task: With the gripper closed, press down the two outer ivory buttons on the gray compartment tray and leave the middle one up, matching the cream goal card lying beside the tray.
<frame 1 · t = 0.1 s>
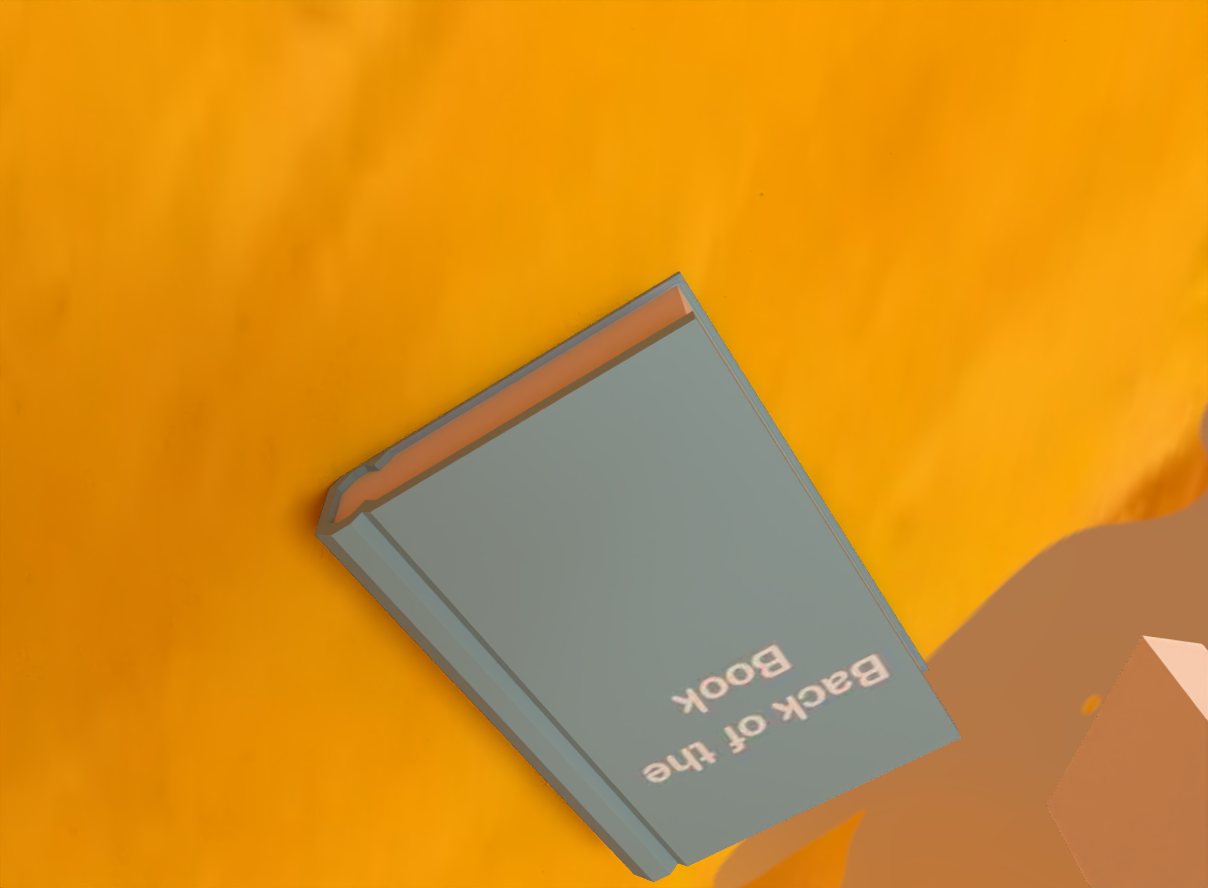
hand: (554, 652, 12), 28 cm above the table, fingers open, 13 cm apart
book: (648, 571, 47), on the table
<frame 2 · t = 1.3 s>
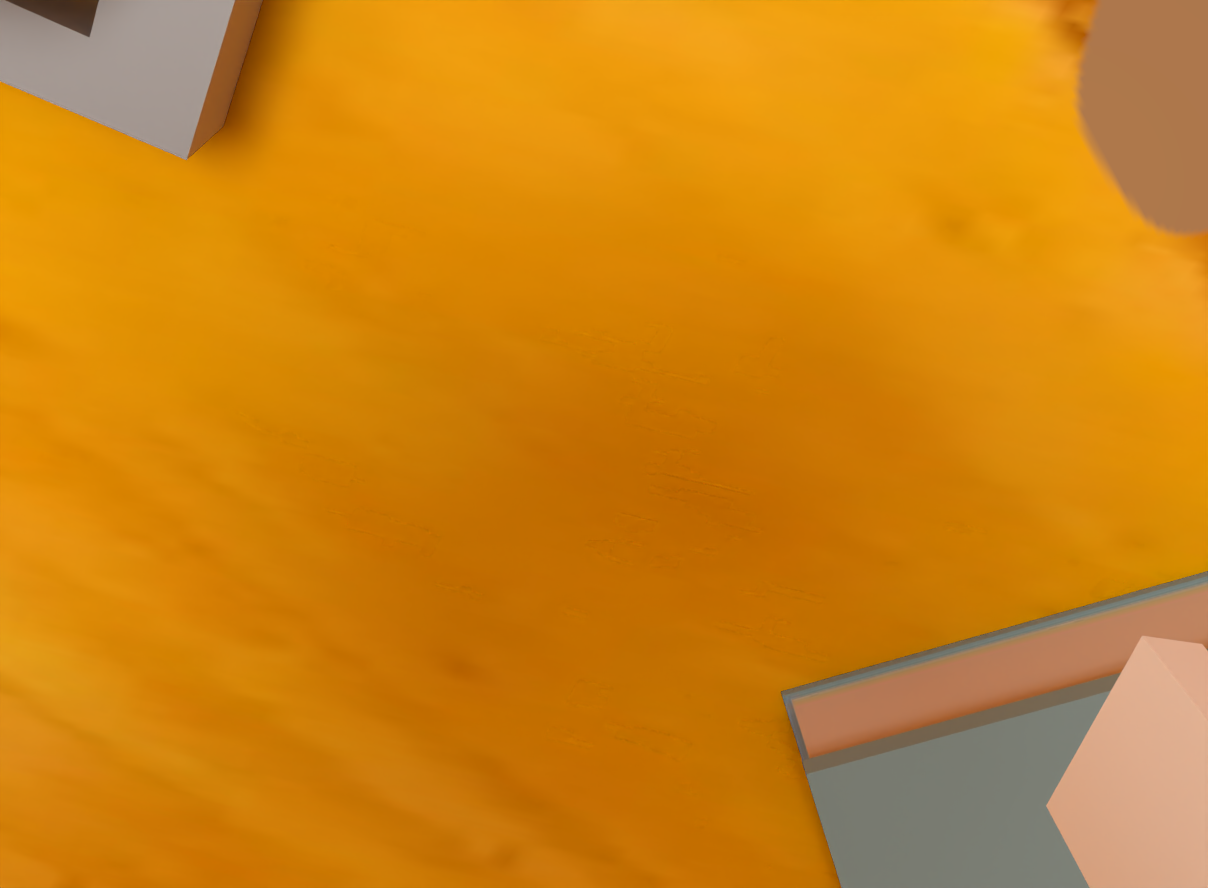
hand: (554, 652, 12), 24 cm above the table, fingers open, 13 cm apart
book: (1063, 741, 48), on the table
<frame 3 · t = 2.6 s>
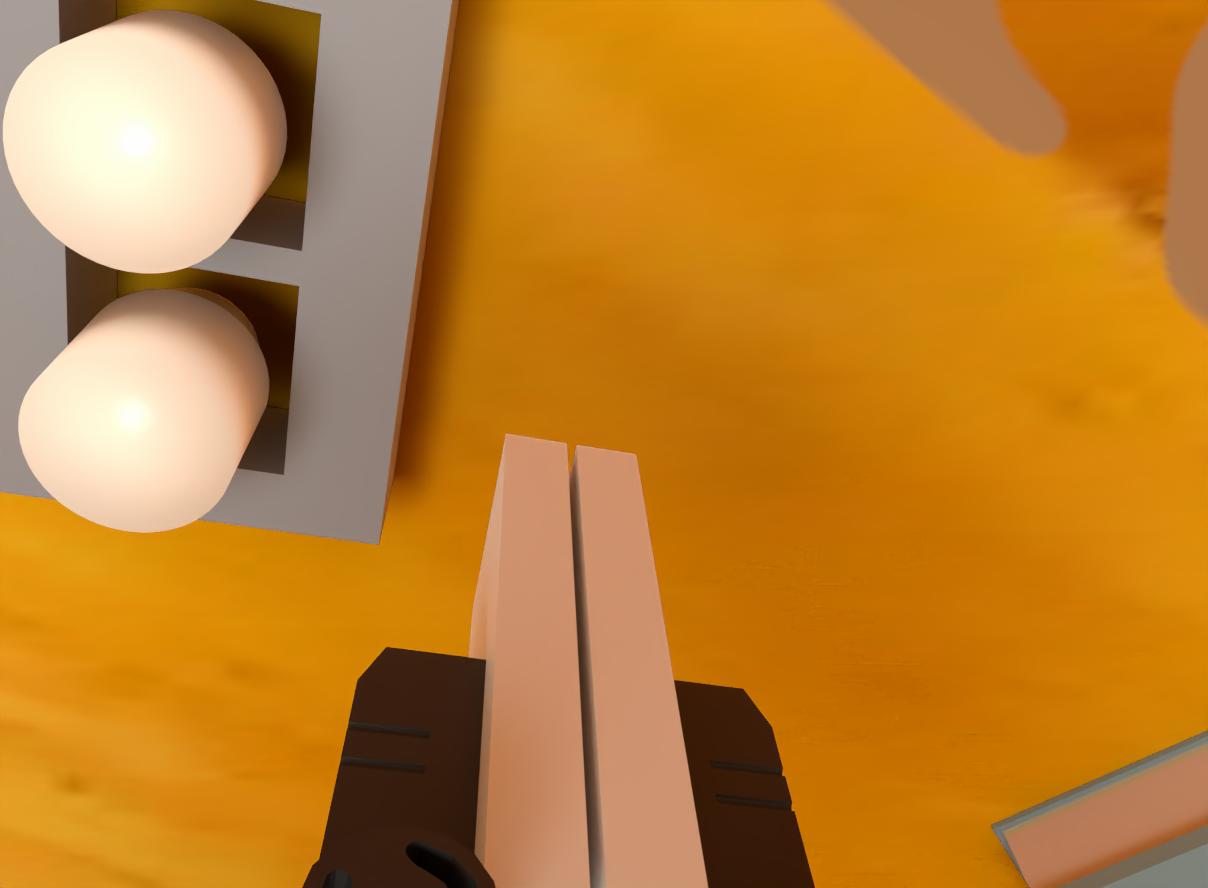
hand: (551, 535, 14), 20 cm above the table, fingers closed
gray compartment tray: (228, 83, 30), on the table
button mid: (170, 128, 25), point 6 cm above the table, slide at 0.0 cm
button 2: (165, 391, 29), point 5 cm above the table, slide at 0.0 cm
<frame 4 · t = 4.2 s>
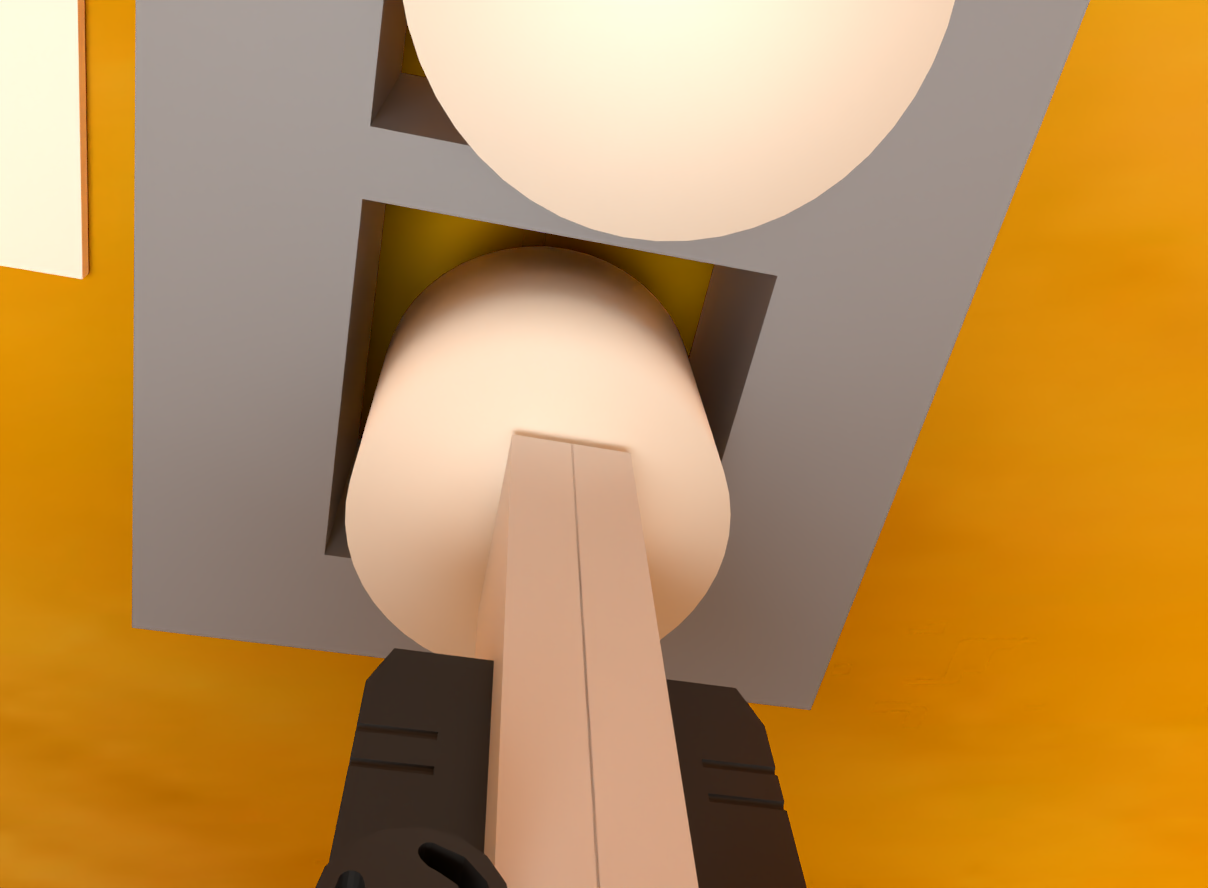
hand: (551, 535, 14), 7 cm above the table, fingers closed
button 2: (538, 422, 17), point 4 cm above the table, slide at 1.5 cm, touching gripper
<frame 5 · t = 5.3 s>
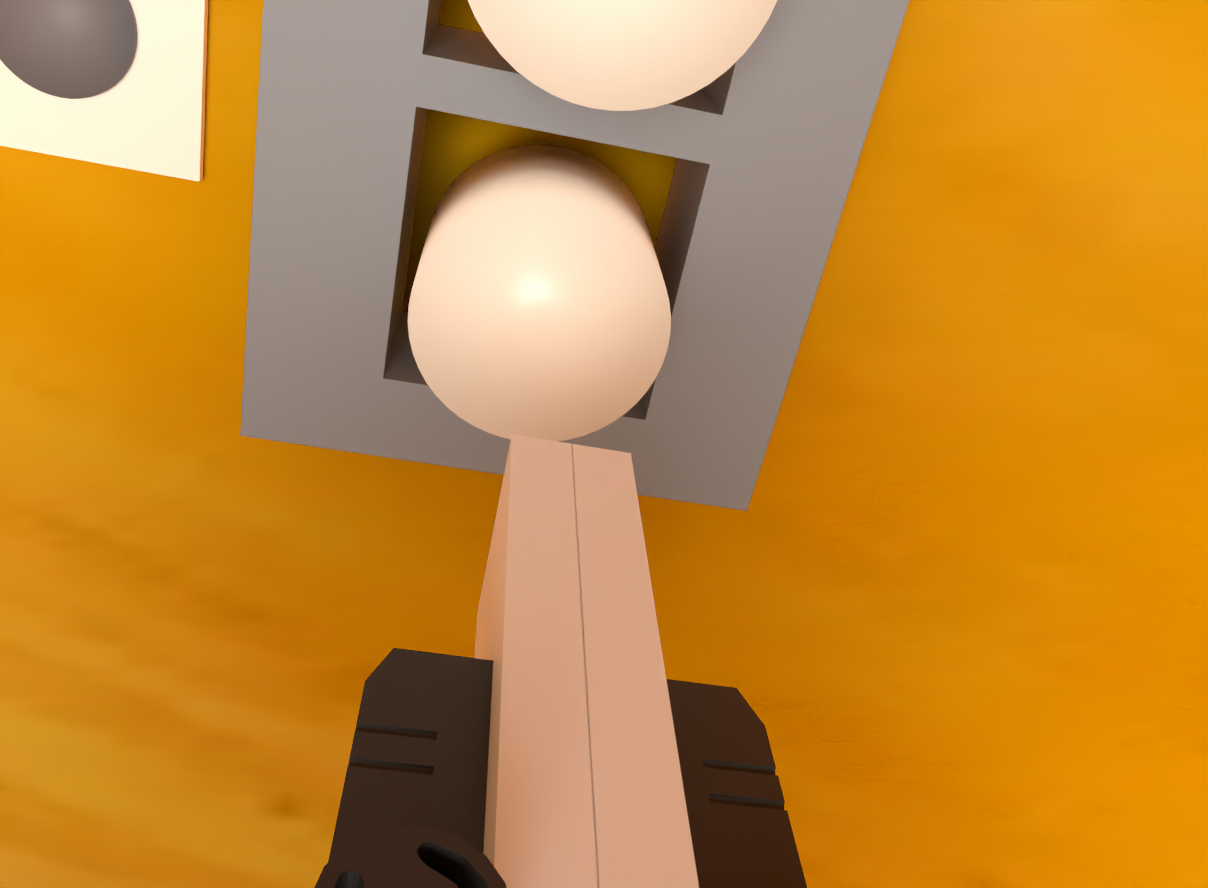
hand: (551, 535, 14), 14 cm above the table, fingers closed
button 2: (539, 273, 23), point 4 cm above the table, slide at 1.7 cm
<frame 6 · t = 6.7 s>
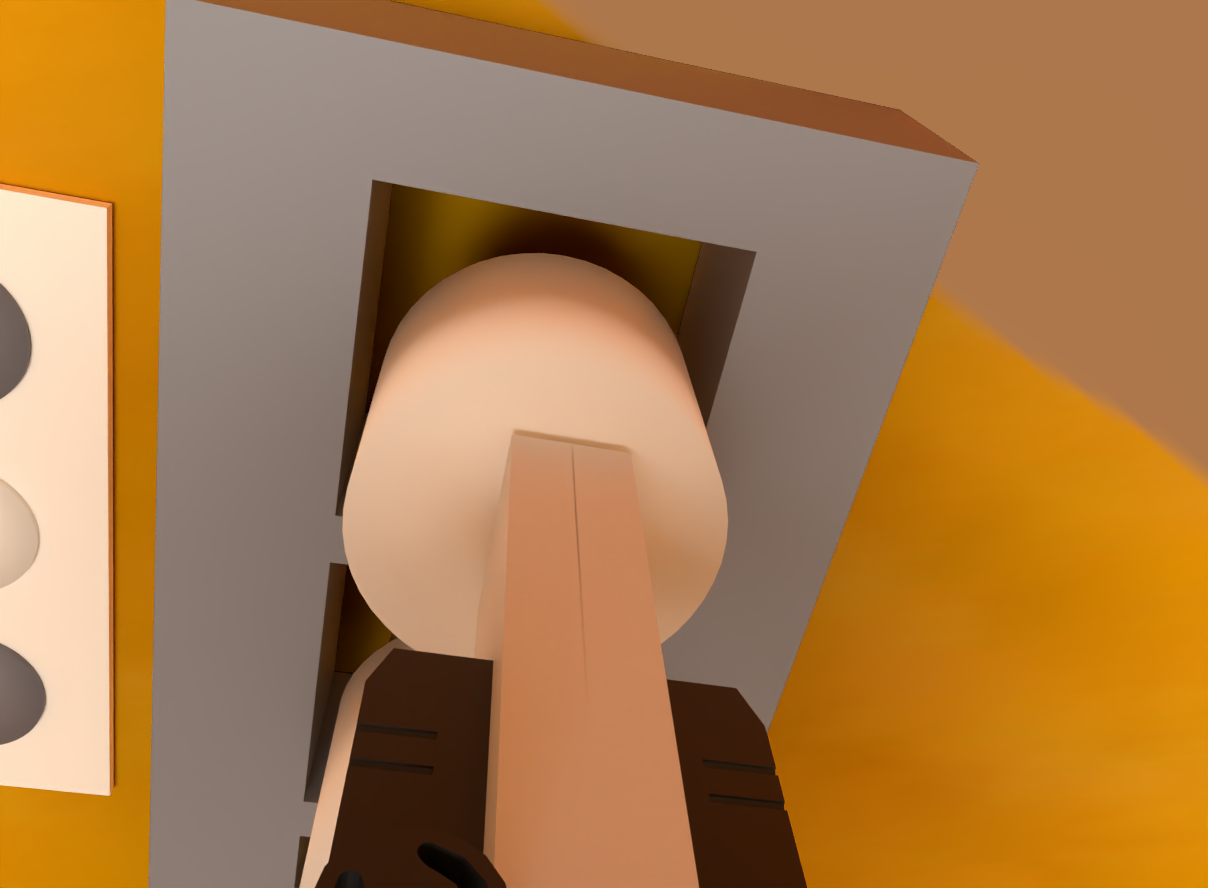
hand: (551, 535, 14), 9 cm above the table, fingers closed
gray compartment tray: (479, 586, 25), on the table
button mid: (468, 764, 20), point 6 cm above the table, slide at 0.0 cm
button 1: (535, 429, 17), point 5 cm above the table, slide at 0.1 cm, touching gripper
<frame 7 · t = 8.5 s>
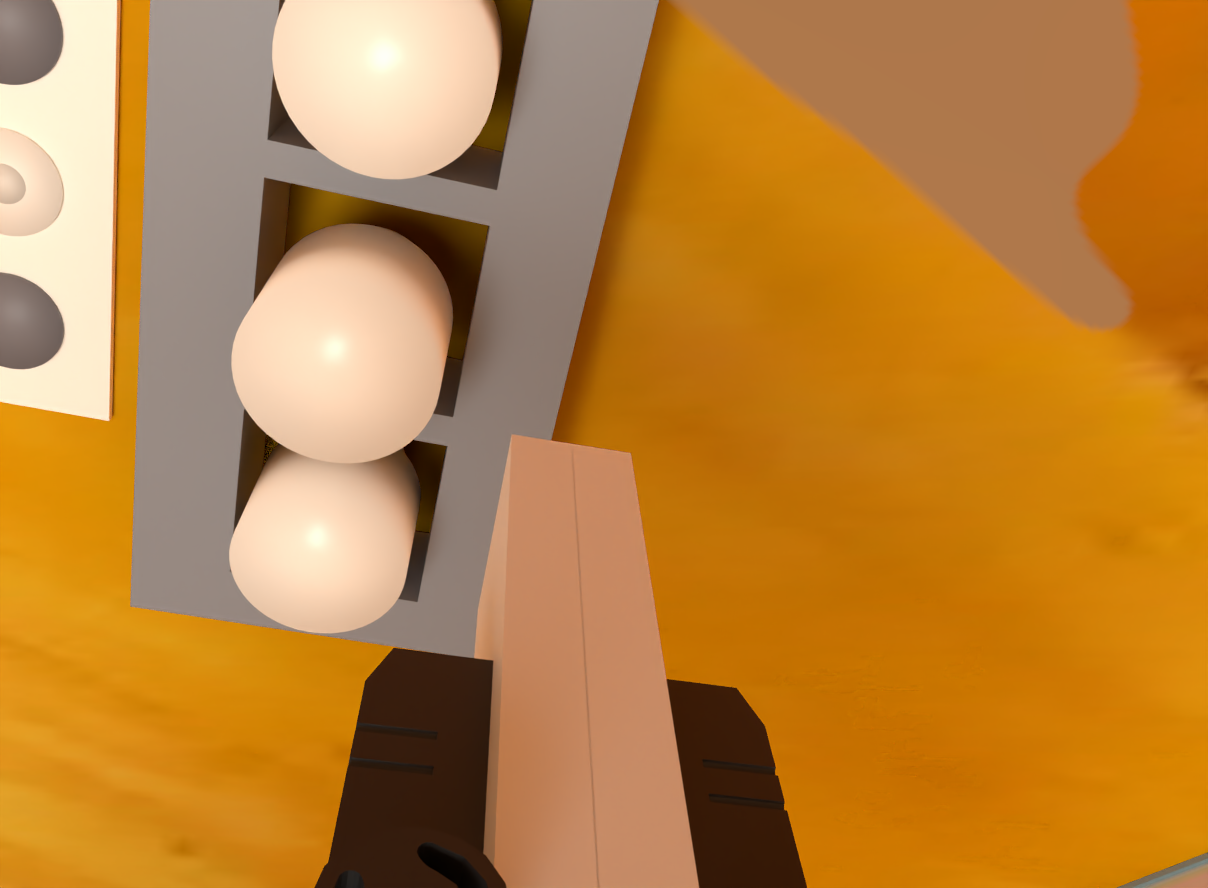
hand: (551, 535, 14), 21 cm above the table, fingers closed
goal card: (11, 179, 32), on the table
gray compartment tray: (383, 256, 34), on the table
button mid: (356, 326, 29), point 6 cm above the table, slide at 0.0 cm
button 2: (336, 508, 33), point 4 cm above the table, slide at 1.7 cm
button 1: (401, 47, 27), point 4 cm above the table, slide at 1.6 cm
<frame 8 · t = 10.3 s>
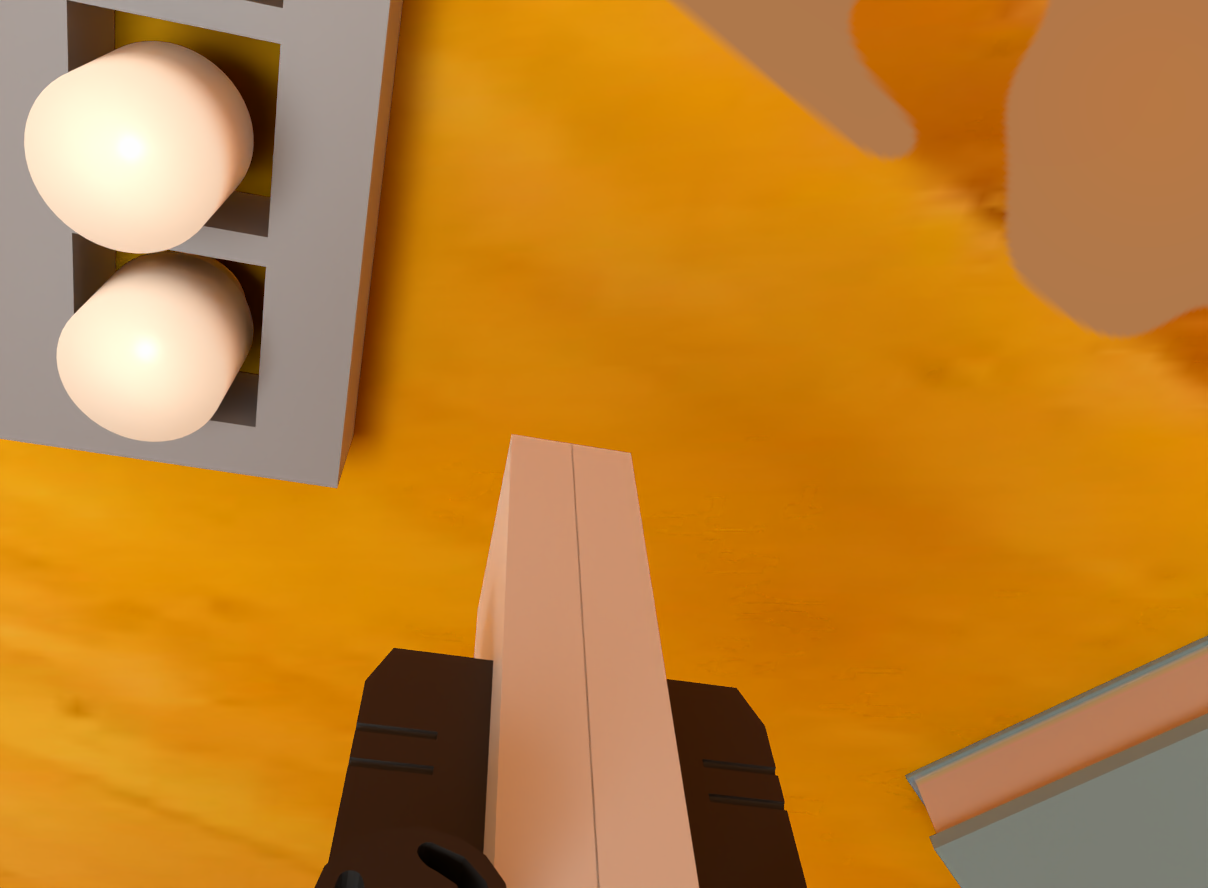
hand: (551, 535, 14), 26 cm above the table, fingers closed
gray compartment tray: (208, 98, 36), on the table
book: (1165, 766, 55), on the table
button mid: (157, 137, 31), point 6 cm above the table, slide at 0.0 cm
button 2: (169, 333, 36), point 4 cm above the table, slide at 1.7 cm
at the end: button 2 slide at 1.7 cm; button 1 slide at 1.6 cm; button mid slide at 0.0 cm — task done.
